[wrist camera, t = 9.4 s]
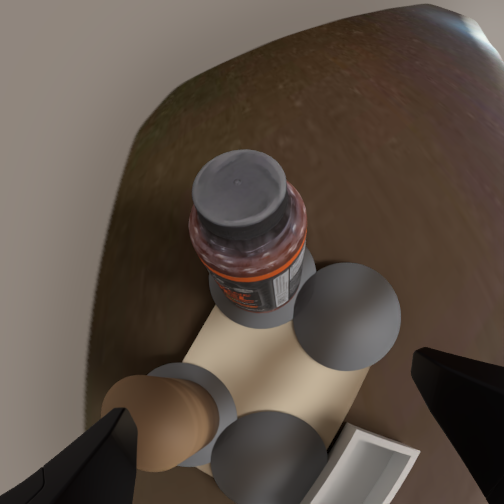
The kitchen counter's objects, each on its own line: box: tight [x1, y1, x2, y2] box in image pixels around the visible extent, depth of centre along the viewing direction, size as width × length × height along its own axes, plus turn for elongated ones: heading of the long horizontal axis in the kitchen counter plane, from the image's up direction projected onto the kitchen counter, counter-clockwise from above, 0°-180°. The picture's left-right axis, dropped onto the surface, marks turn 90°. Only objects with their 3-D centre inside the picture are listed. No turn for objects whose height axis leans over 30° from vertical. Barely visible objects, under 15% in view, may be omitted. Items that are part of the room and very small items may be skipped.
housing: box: [300, 422, 420, 504], centre depth 15 cm, size 5×8×4 cm, turn 152°
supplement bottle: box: [189, 150, 307, 313], centre depth 17 cm, size 6×6×11 cm
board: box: [101, 246, 401, 504], centre depth 17 cm, size 15×20×7 cm
